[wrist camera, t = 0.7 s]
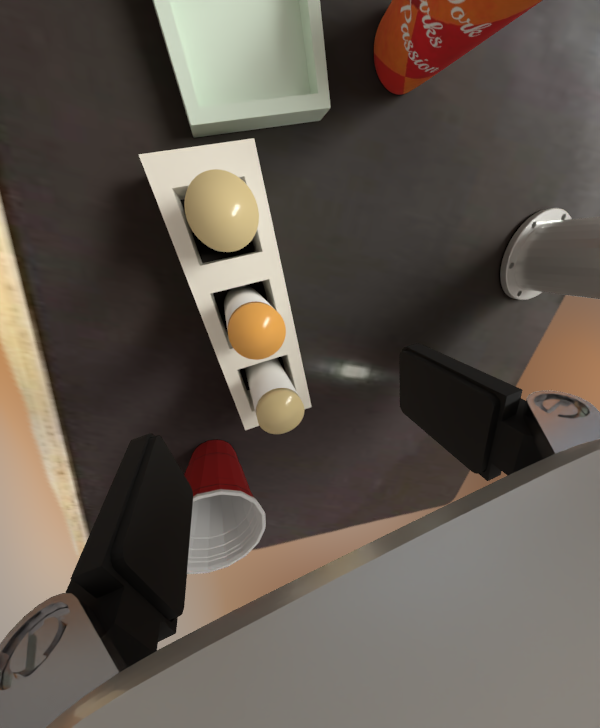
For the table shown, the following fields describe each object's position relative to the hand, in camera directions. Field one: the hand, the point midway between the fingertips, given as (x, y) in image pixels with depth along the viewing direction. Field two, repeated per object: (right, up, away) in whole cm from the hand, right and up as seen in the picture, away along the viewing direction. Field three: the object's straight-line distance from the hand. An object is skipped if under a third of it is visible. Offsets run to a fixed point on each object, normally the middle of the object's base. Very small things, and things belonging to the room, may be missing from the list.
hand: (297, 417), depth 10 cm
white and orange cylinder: (-6, +9, +19) cm, 22 cm away
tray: (-5, +29, +11) cm, 31 cm away
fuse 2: (-5, +2, +23) cm, 23 cm away
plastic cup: (-12, -11, +26) cm, 31 cm away
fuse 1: (-8, +16, +16) cm, 23 cm away
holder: (-6, +9, +19) cm, 22 cm away
